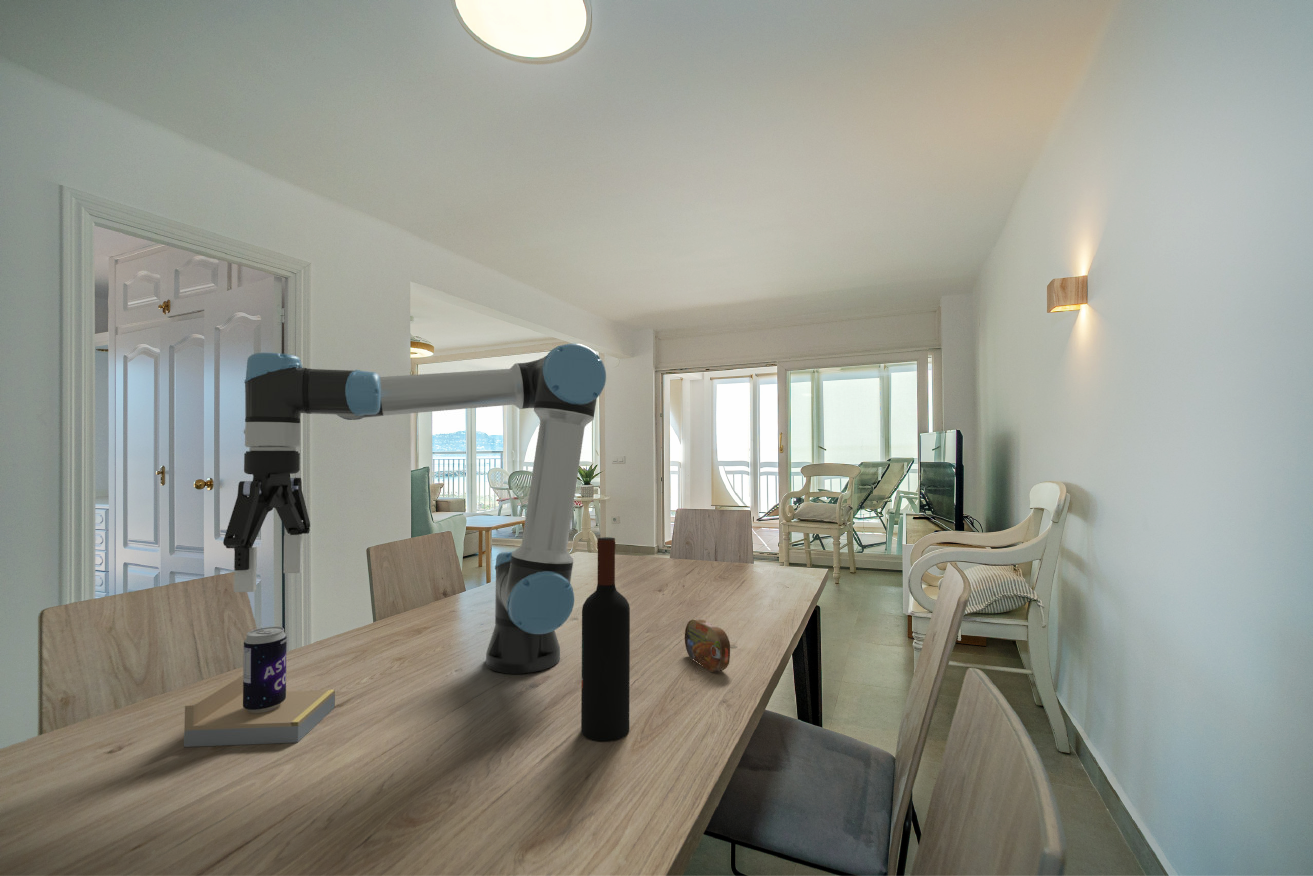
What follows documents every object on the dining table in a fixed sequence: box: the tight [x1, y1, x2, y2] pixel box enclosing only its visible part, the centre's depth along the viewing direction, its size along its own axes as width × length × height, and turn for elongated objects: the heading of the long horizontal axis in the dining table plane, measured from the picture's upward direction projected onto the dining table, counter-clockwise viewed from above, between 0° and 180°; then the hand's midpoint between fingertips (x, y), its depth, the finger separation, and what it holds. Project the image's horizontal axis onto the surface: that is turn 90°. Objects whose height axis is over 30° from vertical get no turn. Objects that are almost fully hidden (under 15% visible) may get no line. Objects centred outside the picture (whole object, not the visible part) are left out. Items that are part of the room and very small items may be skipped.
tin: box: [684, 619, 731, 673], centre depth 120 cm, size 15×3×8 cm, turn 25°
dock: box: [183, 674, 336, 748], centre depth 93 cm, size 16×12×6 cm
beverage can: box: [242, 626, 288, 713], centre depth 92 cm, size 6×6×12 cm
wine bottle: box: [580, 536, 631, 743], centre depth 92 cm, size 8×8×30 cm
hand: (270, 581), depth 94 cm, fingers open, 13 cm apart
